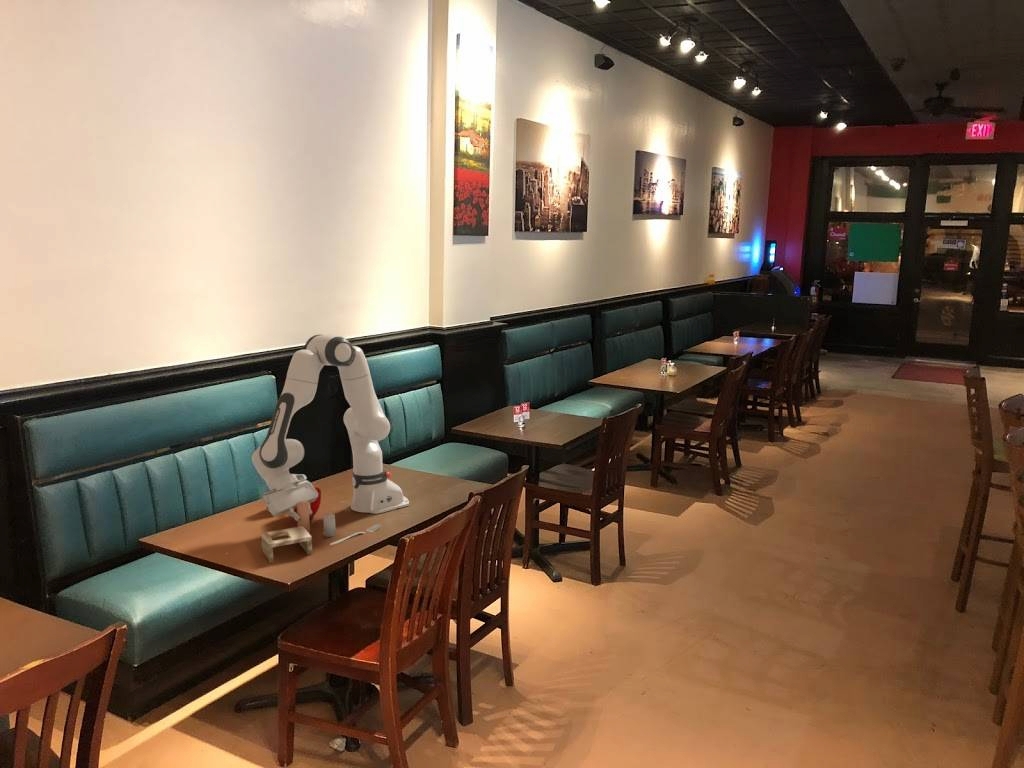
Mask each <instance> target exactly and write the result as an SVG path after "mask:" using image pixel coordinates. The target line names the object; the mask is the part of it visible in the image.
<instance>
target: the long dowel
mask: <svg viewBox="0 0 1024 768" xmlns="http://www.w3.org/2000/svg"><path fill="white" fill-rule="evenodd" d="M297 514H300V516H301V519H300V520H298V521H297V527H300V526H303V527H304V528H305V529H306V530H307V532H308V533H309V534H310V535H311V524H310V519H309V502H308V501H300V502H297Z"/></svg>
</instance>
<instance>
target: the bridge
mask: <svg viewBox="0 0 1024 768" xmlns="http://www.w3.org/2000/svg"><path fill="white" fill-rule="evenodd" d="M283 536H287V537H286V538H281V539H276V540H273V539H272V538H276V537H277V538H278V537H283ZM260 537H261V550H263V551H262V552H263V554H264V555H265V557H266V558H268V559H267V560H268V562H269V563H273V562H274V549H273V548H276V547H281V546H282V547H283V546H286V545H292V544H297V543H300V544H299V545H300V546H301V548H303V550H304V552H305V553H306V554H307V555H312V554H313V537H312V535H311V533H310V534H309V533H308V532H307V530H306V529H305V528H304V527H303V526H300V527H298V526H296V527H295V526H294V527H290V528H284V529H278V530H274V531H268V532H262V533H260Z"/></svg>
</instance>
